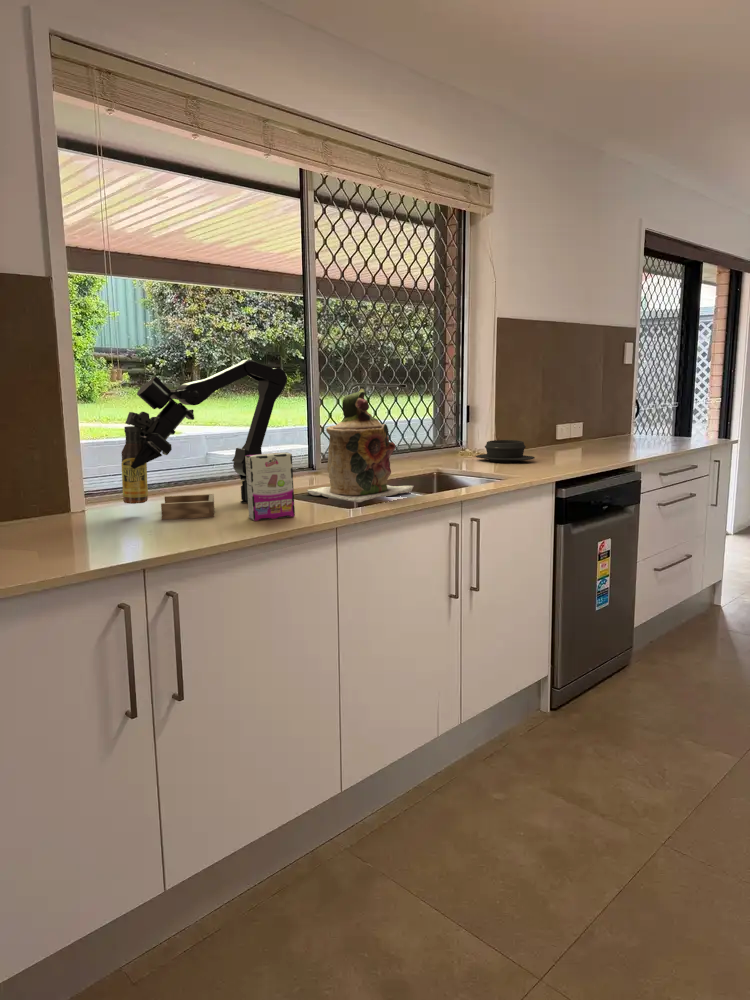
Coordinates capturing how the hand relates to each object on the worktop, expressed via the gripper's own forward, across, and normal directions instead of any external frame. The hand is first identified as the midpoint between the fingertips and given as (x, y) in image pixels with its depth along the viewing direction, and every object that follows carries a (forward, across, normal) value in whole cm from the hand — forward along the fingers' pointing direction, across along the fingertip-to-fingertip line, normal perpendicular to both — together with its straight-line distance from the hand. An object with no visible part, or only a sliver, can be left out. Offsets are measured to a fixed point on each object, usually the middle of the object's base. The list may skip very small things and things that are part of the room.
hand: (128, 466), depth 182 cm
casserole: (-103, -23, +124) cm, 163 cm away
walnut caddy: (0, +5, +19) cm, 20 cm away
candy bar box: (-10, +24, +30) cm, 40 cm away
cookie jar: (-37, +8, +57) cm, 69 cm away
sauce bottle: (+6, 0, +8) cm, 10 cm away
